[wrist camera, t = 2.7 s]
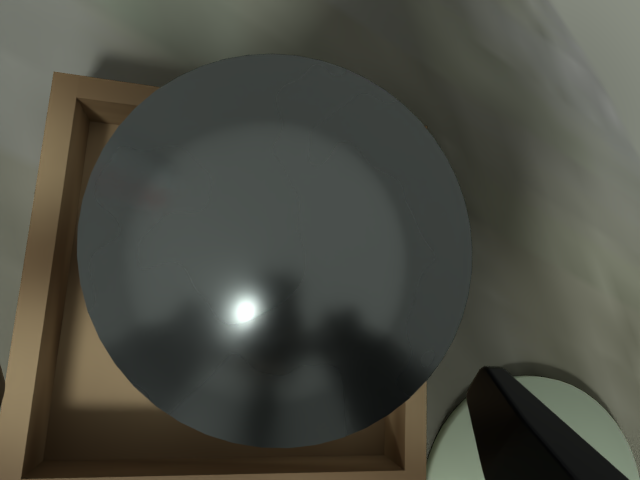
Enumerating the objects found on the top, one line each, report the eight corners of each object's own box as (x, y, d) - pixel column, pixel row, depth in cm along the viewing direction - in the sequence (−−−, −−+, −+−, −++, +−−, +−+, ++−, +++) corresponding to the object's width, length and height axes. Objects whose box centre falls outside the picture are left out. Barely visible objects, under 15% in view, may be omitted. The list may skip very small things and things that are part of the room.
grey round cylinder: (262, 394, 18) (363, 526, 6) (130, 316, 17) (-24, 306, 6) (336, 267, 19) (526, 187, 8) (216, 191, 19) (231, -17, 7)
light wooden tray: (398, 473, 19) (426, 494, 17) (18, 481, 16) (-15, 510, 14) (402, 148, 22) (427, 126, 19) (73, 104, 19) (53, 71, 16)
